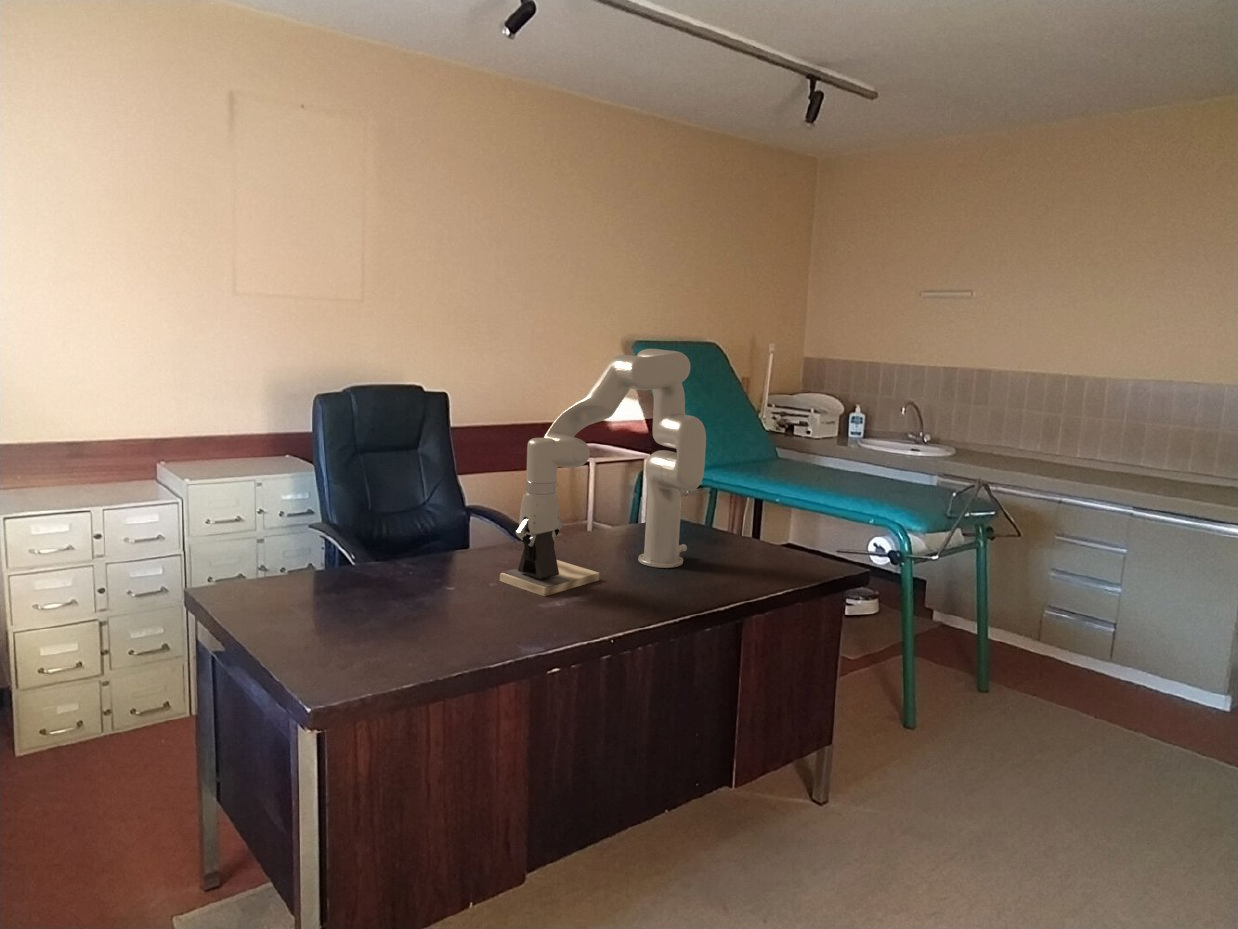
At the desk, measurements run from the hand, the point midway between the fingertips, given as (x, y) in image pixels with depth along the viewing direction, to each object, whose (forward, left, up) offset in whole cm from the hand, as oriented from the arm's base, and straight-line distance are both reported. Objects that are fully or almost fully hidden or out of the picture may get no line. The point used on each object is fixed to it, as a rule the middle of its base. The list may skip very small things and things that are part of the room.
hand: (538, 557), depth 225 cm
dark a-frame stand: (0, 0, -4) cm, 4 cm away
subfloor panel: (-4, 0, -7) cm, 8 cm away
